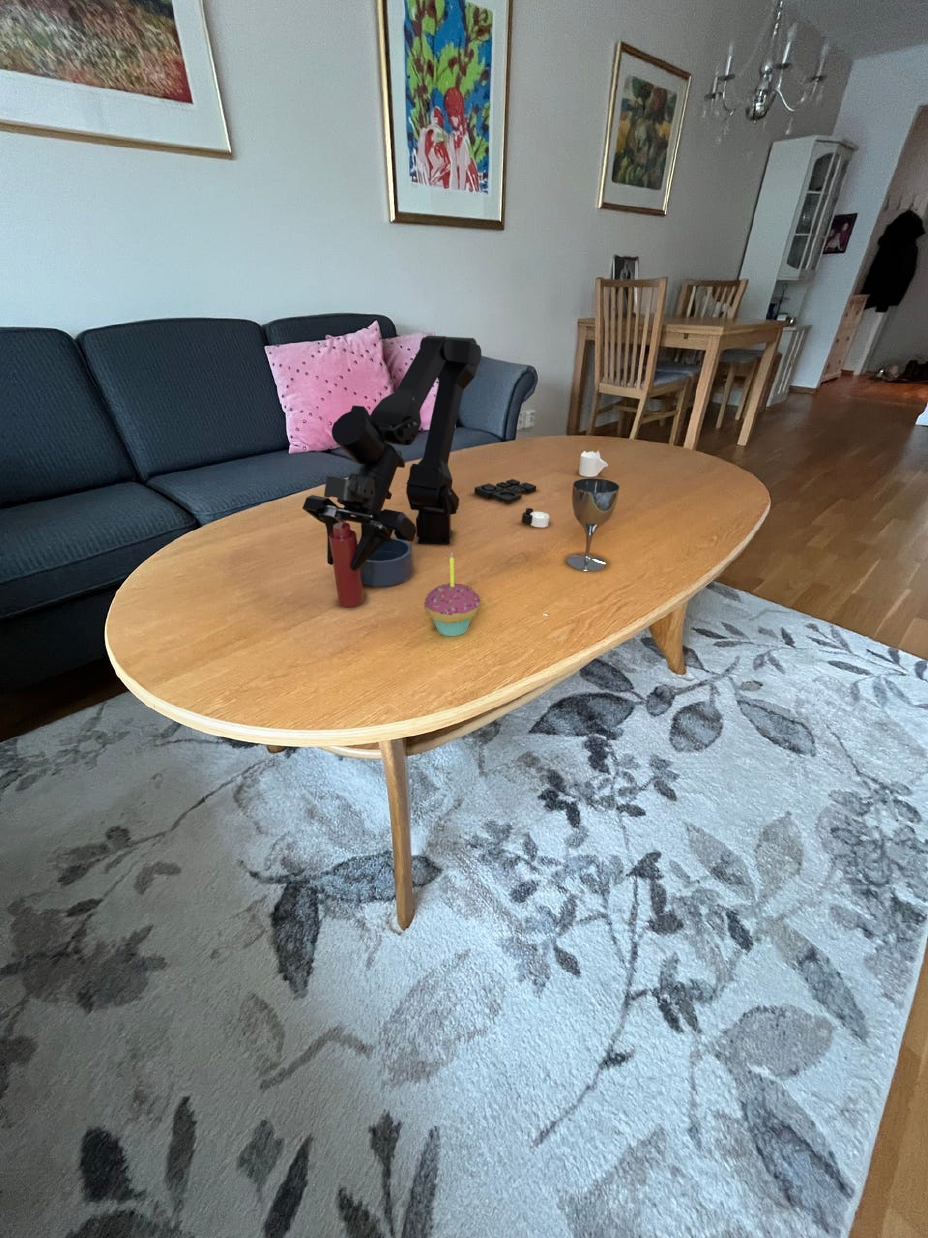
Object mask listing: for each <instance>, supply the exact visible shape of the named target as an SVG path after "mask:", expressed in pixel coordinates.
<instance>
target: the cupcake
mask: <svg viewBox="0 0 928 1238" xmlns="http://www.w3.org/2000/svg"><path fill="white" fill-rule="evenodd" d="M448 559H449V583H445V584H441V585H438V586H436V587H435V588H433V589H431V590H430V591H429V592H428V593H427V594H426V596H425V598H424V612H425V614H426V615H427V616H428V617H429V618H430V619H431V620H432V621H433V623H434V625H435V627H436V630H437V632H438V633H439V634H441V635H442V636H446V637H458V636H462V635H463V634H465V633H466V632H467V631H468V628H469V625H470V623H471V621H472V619H474V618H475V617H476V616H477V615H478V614H479V611H480V610H481V606H482V603H481V601H482V600H481V597H480V596H479V594H478V593H477V591H476V590H474V589H473V588H472V587H470V586H468V585H465V584H461V583H456V582H455V558H454V557H453V552H452V551H451V552H450V557H449V558H448Z"/></svg>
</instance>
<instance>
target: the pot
mask: <svg viewBox="0 0 928 1238" xmlns="http://www.w3.org/2000/svg"><path fill="white" fill-rule="evenodd" d="M391 538H392V539H393V541H392V542H391V543H390V542H387V543H386V544H384V545H383V546H382V547H381V548H380V549H378V550H377V551H376V552H375V553H373V554H372V555H371V556H370V557H369V558H368V559H367V560H366V561H365V562H364V563H363V564H362V565H361V566H360V569H361V578H362V584H364V585H366V586H369V587H373V588H389V587H395V586H399V585H400V584H403V583H404V582H406V581H407V580H409V579H410V578H411V577H412V576H413V574H414V560H413V558H414V557H413V547H412V545H411V544H410V543H409V541H404V540H400V539H397V538H396V537H391Z"/></svg>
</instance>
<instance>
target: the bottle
mask: <svg viewBox="0 0 928 1238" xmlns="http://www.w3.org/2000/svg"><path fill="white" fill-rule="evenodd" d="M329 541H330V547H331V554H332V561H333V565H332V567H333V573H334V574H333V575H334V580H335V587H336V593H337V601H338V604H339V606H342V607H344V608H345V607H346V608H353V607H358V606H360V605H362V604H363V603H364V601H365V596H364V586H363V583H362V578H361V569H360V567H359V568H358V569H357V570H356V571H354V570H352V569H351V563H352V560H353V557H354V554H355V551H356V549H357V546H358V537H357V532H356V531H355V530H352V529H351V525H350V522H346V523H345V522H341V523H336V524H334V525H333V532H331V533H330V534H329Z"/></svg>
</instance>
